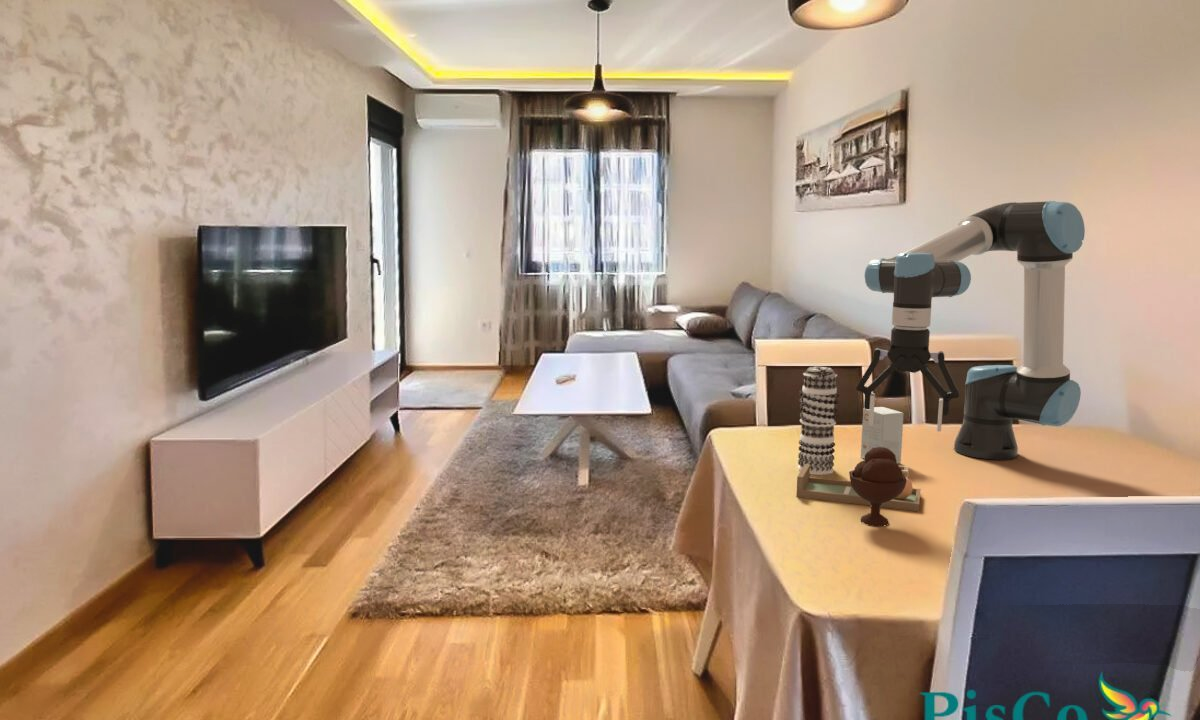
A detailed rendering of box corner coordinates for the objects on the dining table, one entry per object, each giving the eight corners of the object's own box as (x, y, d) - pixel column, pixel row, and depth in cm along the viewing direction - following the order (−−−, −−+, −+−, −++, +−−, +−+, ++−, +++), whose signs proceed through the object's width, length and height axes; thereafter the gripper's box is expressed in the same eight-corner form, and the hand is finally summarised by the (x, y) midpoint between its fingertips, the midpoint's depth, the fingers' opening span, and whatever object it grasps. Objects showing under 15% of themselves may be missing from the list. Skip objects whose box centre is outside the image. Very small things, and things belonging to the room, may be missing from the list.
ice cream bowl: (837, 513, 173) (841, 442, 170) (890, 512, 174) (894, 441, 171) (857, 531, 162) (862, 456, 160) (913, 530, 163) (918, 455, 161)
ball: (912, 496, 182) (913, 473, 181) (911, 503, 177) (912, 480, 177) (888, 494, 184) (888, 472, 183) (886, 501, 179) (887, 478, 179)
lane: (920, 496, 184) (921, 476, 184) (918, 511, 174) (920, 490, 174) (803, 482, 193) (804, 463, 193) (796, 496, 183) (797, 476, 183)
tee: (907, 486, 191) (908, 466, 190) (906, 492, 187) (908, 471, 186) (887, 484, 193) (888, 464, 192) (885, 489, 189) (887, 469, 188)
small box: (901, 463, 210) (904, 412, 208) (880, 465, 208) (883, 414, 206) (880, 455, 218) (883, 406, 216) (859, 457, 215) (862, 407, 213)
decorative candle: (816, 477, 198) (821, 372, 194) (788, 467, 206) (792, 366, 202) (843, 471, 203) (848, 369, 199) (814, 462, 210) (819, 363, 207)
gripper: (846, 326, 176) (841, 425, 179) (976, 332, 167) (969, 436, 170) (850, 322, 183) (845, 418, 186) (975, 328, 174) (968, 428, 177)
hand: (904, 427), depth 178 cm, fingers open, 13 cm apart
